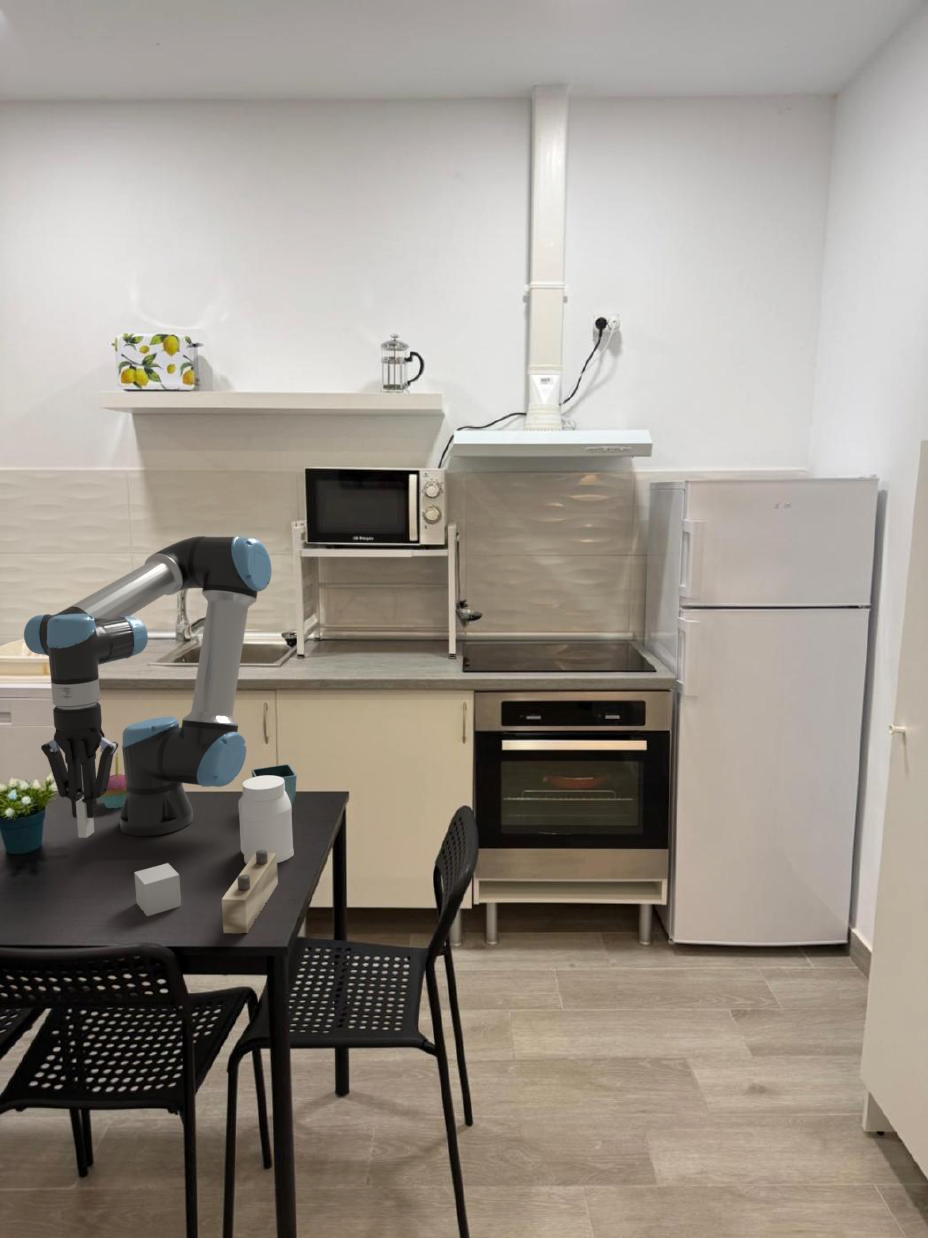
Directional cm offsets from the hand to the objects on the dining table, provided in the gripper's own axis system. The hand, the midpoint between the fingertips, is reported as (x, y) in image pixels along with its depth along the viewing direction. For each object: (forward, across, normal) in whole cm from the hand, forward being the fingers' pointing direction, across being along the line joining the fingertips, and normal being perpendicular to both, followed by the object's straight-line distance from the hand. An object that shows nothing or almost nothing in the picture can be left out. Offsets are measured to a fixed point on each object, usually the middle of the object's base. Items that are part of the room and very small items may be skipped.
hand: (86, 834), depth 151 cm
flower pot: (+13, +20, +46) cm, 51 cm away
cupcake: (+13, -18, +46) cm, 51 cm away
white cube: (+13, +12, 0) cm, 18 cm away
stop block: (+13, +29, 0) cm, 32 cm away
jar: (+13, +25, +22) cm, 36 cm away
